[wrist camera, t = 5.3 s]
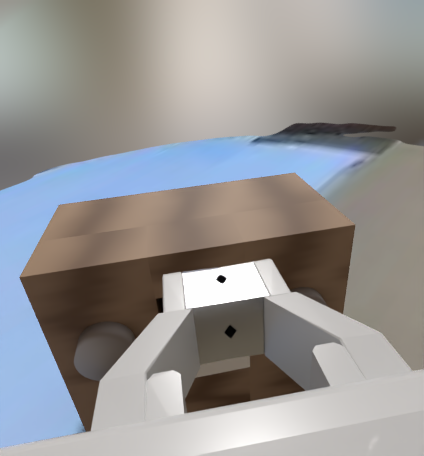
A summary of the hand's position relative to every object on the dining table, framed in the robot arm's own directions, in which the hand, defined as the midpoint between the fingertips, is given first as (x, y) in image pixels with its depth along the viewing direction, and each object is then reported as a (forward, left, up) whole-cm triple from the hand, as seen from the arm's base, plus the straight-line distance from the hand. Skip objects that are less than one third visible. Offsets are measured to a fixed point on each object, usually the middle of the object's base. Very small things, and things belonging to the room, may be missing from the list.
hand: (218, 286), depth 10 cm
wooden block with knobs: (0, -14, -23) cm, 27 cm away
